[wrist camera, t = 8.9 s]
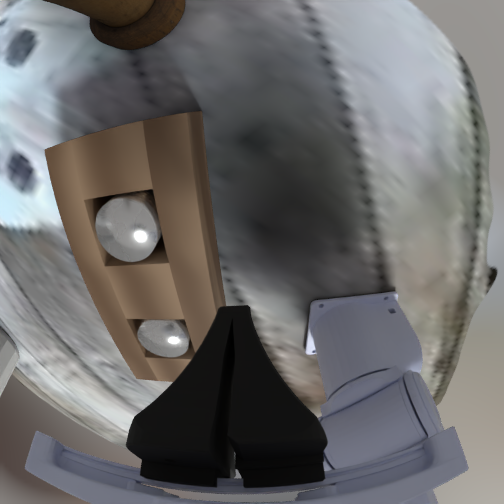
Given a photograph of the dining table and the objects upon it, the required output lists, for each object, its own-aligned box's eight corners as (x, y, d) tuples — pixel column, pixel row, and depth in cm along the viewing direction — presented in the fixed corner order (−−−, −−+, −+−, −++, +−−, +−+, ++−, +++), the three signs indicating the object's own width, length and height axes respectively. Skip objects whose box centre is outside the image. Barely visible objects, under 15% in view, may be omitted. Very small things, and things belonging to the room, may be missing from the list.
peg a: (169, 174, 19) (148, 194, 15) (178, 228, 21) (163, 260, 17) (117, 182, 19) (88, 204, 15) (129, 232, 21) (106, 263, 17)
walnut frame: (201, 110, 17) (186, 112, 12) (232, 344, 28) (231, 382, 24) (82, 136, 17) (44, 149, 12) (147, 344, 28) (136, 378, 24)
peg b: (190, 285, 24) (181, 322, 20) (199, 320, 26) (193, 357, 22) (145, 286, 24) (130, 322, 20) (158, 320, 26) (146, 356, 22)
